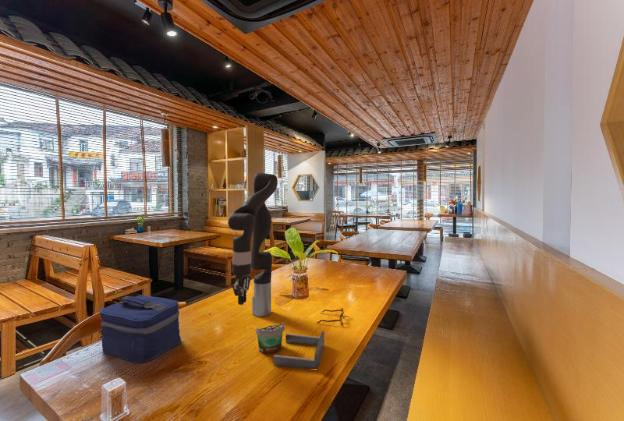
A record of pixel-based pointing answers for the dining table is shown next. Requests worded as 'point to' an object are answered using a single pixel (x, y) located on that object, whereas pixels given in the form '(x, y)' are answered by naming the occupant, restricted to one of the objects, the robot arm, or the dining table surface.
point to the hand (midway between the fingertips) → (242, 303)
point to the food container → (270, 338)
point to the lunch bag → (140, 327)
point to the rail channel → (302, 362)
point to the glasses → (333, 320)
